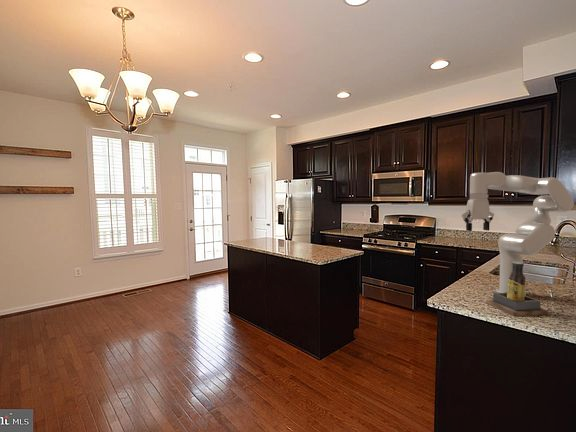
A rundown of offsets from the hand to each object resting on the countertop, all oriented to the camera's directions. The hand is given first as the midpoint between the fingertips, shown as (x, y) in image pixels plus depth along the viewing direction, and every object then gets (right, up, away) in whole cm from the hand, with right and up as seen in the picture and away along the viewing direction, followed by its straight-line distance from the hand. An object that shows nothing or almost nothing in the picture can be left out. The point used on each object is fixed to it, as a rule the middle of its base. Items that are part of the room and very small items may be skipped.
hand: (477, 230), depth 146 cm
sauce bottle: (+7, -34, -16) cm, 38 cm away
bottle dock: (+7, -35, -16) cm, 39 cm away
